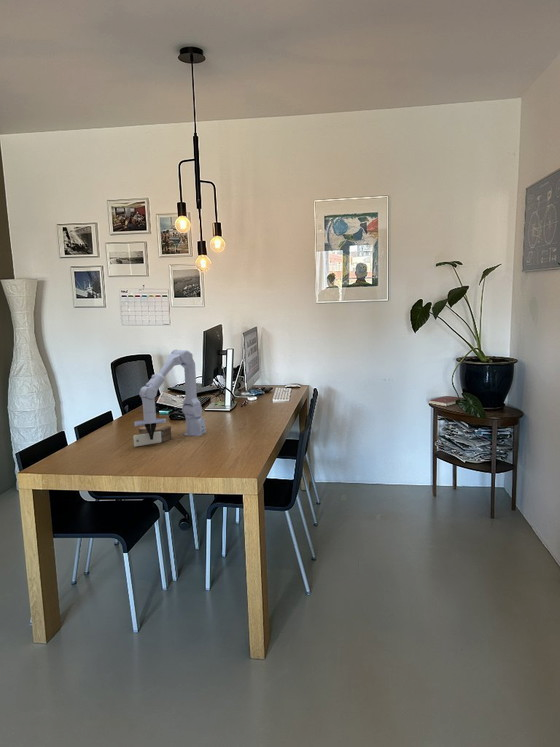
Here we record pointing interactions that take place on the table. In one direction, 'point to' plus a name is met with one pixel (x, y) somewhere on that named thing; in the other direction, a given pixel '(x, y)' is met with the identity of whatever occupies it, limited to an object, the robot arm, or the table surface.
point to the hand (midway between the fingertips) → (151, 439)
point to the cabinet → (164, 429)
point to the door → (147, 439)
